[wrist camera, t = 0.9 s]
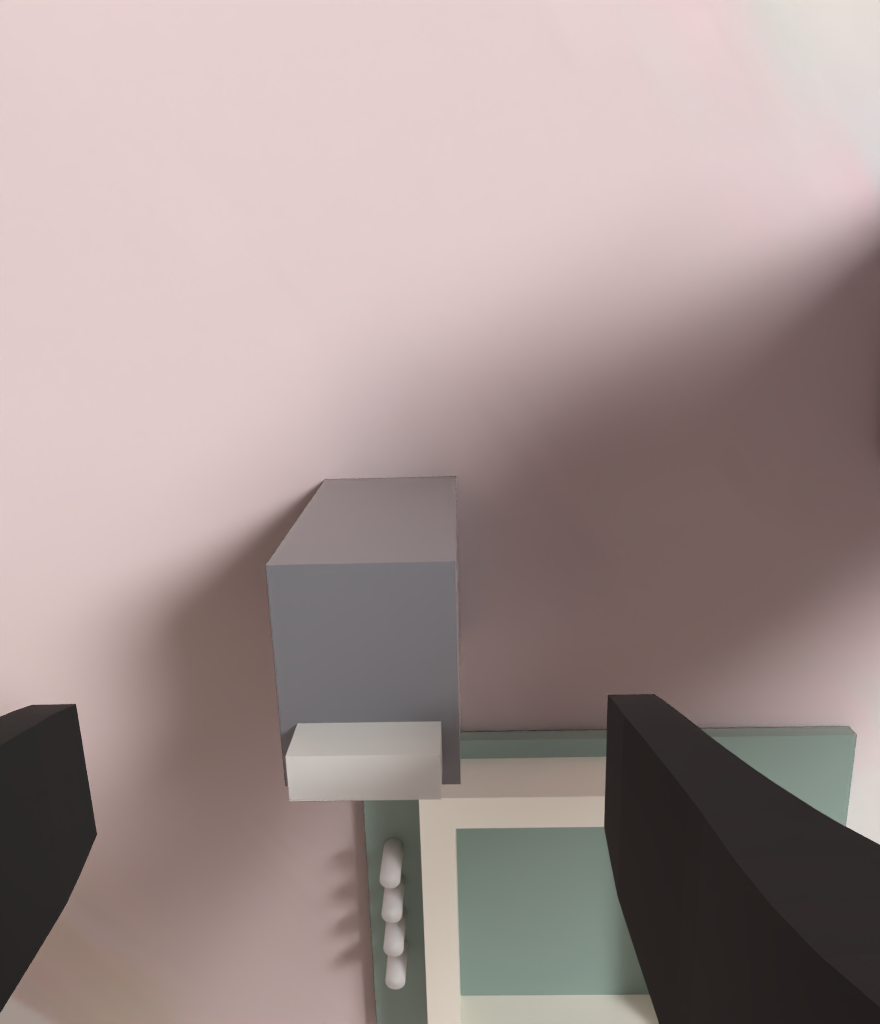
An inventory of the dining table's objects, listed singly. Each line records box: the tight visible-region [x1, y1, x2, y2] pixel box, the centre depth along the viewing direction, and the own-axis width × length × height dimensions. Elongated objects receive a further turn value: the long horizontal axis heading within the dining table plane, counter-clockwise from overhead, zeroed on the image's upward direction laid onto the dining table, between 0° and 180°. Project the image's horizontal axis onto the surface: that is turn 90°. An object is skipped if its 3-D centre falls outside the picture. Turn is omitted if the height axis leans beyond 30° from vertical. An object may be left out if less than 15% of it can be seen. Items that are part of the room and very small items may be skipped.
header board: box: [363, 726, 857, 1024], centre depth 20 cm, size 12×9×3 cm
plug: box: [266, 476, 461, 801], centre depth 16 cm, size 3×4×7 cm
